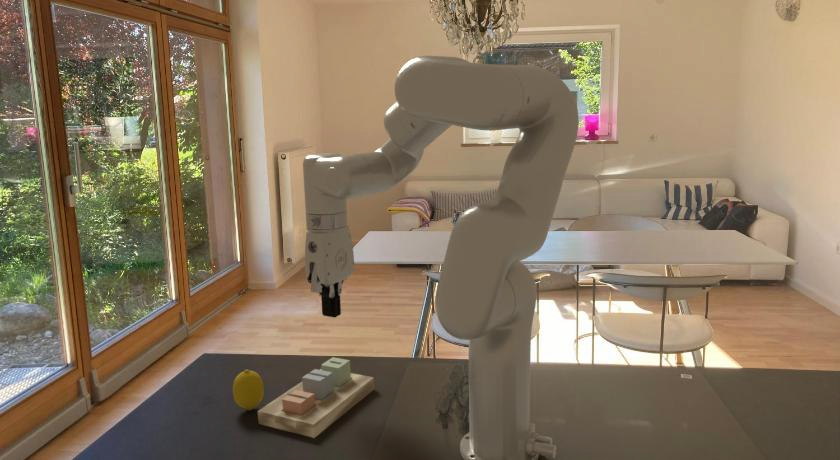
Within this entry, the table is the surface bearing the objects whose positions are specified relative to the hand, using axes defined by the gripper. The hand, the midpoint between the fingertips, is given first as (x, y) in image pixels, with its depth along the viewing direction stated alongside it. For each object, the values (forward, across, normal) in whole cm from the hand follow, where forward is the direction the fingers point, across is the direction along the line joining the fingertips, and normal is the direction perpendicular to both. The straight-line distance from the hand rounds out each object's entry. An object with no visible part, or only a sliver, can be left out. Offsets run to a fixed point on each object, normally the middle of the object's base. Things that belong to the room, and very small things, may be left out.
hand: (331, 315), depth 122 cm
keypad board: (+16, -6, 0) cm, 17 cm away
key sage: (+14, 0, 0) cm, 14 cm away
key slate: (+14, -6, 0) cm, 15 cm away
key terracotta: (+16, -12, 0) cm, 20 cm away
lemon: (+16, -13, +10) cm, 23 cm away
